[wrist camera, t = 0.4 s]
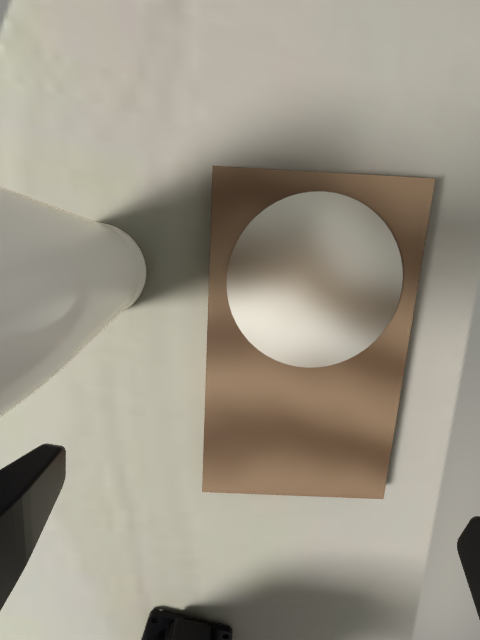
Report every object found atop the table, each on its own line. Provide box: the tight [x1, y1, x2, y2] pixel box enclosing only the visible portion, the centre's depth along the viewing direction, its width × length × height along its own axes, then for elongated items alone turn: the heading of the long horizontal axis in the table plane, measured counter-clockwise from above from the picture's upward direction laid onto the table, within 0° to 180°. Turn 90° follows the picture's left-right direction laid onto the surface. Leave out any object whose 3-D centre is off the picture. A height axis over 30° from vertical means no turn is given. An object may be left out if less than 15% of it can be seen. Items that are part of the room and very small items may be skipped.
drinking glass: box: [0, 187, 146, 417], centre depth 14 cm, size 7×7×15 cm
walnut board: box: [202, 166, 435, 499], centre depth 21 cm, size 20×12×1 cm, turn 177°
